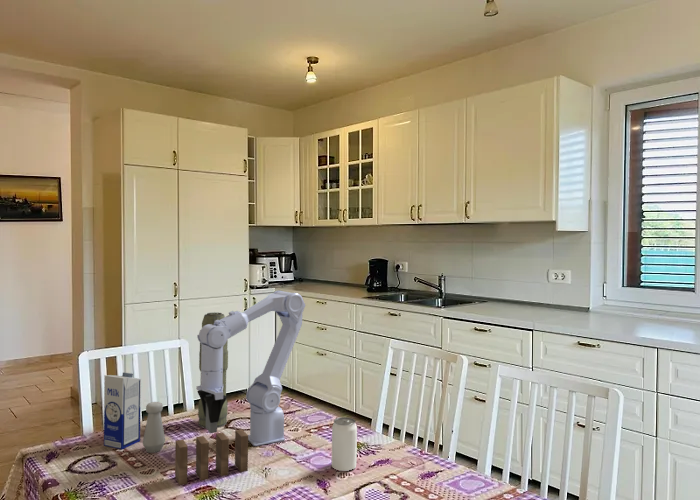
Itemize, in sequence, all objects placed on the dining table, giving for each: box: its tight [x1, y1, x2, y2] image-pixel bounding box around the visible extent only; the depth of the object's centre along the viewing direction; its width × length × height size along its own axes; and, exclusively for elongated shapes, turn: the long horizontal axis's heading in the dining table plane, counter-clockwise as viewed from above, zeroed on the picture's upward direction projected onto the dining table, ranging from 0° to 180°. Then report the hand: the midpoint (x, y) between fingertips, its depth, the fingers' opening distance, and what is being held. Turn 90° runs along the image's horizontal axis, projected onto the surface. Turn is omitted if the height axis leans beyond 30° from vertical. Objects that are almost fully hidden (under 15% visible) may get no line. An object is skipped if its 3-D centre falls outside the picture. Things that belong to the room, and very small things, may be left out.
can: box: [331, 416, 358, 472], centre depth 133 cm, size 6×6×12 cm
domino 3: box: [205, 394, 218, 434], centre depth 139 cm, size 2×5×9 cm, turn 31°
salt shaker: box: [142, 401, 166, 454], centre depth 141 cm, size 6×6×13 cm
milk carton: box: [103, 372, 142, 450], centre depth 146 cm, size 7×7×20 cm
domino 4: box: [215, 432, 230, 477], centre depth 129 cm, size 2×5×9 cm, turn 31°
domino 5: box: [234, 429, 249, 473], centre depth 131 cm, size 2×5×9 cm, turn 31°
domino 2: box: [195, 435, 210, 482], centre depth 126 cm, size 2×5×9 cm, turn 31°
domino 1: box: [174, 439, 189, 486], centre depth 124 cm, size 2×5×9 cm, turn 31°
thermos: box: [197, 312, 229, 429], centre depth 163 cm, size 9×12×35 cm
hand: (211, 419), depth 139 cm, fingers closed on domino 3, 5 cm apart
